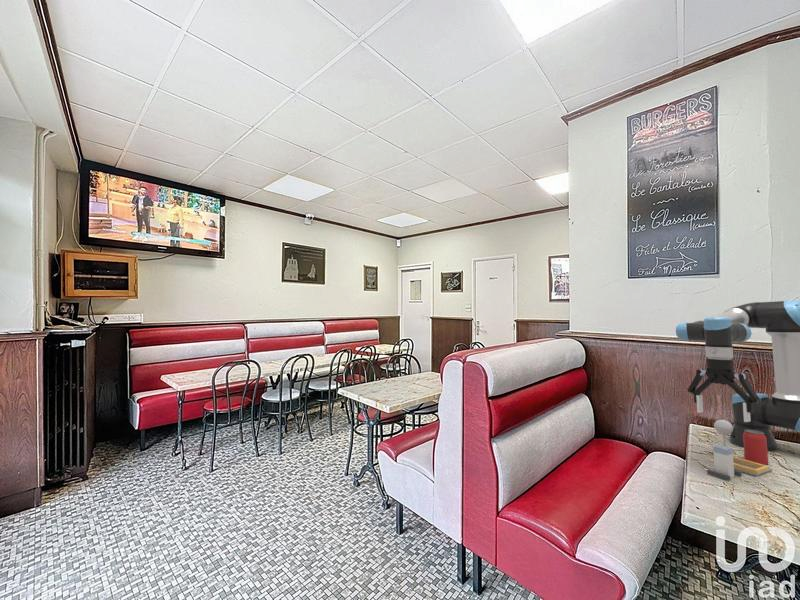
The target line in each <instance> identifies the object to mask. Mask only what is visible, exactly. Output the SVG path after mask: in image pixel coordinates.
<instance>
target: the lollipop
mask: <svg viewBox="0 0 800 600" xmlns="http://www.w3.org/2000/svg"><path fill="white" fill-rule="evenodd" d="M733 426H734V425H733V424H732V423H731V422H730V421H728V420H725V419H717V420H715V422H714V423H713V428H714V430H715V431H716V432H718V434H721V435H723V446H726V447H727V445H726V435H730V434H731V433H732V432H733Z"/></svg>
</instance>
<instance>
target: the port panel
mask: <svg viewBox="0 0 800 600" xmlns="http://www.w3.org/2000/svg"><path fill="white" fill-rule="evenodd" d="M733 462H734V470H737V471H741V472H742V474H744V475H747V476H749V477H755V478H757V477H760V476H762V475H766V474H768V473H771V472H772V469H771V468H770V465H762V464H759V463H755V462H751V461H748V460H745V458H744V459H743V458H740V457H737V456H733Z"/></svg>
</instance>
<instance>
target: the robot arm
mask: <svg viewBox="0 0 800 600" xmlns="http://www.w3.org/2000/svg"><path fill="white" fill-rule="evenodd" d="M751 328H754V329H765V332H766V334H767V335H769V336H770V337H771V345H772V346H771V347H772V358H773V367H774V368H773V369H774V378H775V392H774V393H773V394H771V397H770V398H769V395H768V394H767V393H759V392H756V391H755V390H754V388H753V386H751V383H750V382H749V381H748V379H747V378H748V377H747V374H746V373H735V366H734V365H735V363H734V362H735V361H734V360H733V359H734V351H733V350H734V349H733V343H738V344H740V343H743V342H746V341H748V340H750V338H751V336H752V330H751ZM675 334H676V337H677V338H678V340H681V341H688V342H691V341H692V342H704V343H705V345H704V346H705V347H704V348H705V357H706V359H705V366H706V370H703V369H696V371H695V376H694V378H693V380H692V381H691V382H690V384H689V387H688V388H687V392H688V393H691V394H692V395H693V403H695V404H696V412H697V413H699V414H701V413H704V400H703V399H704V396H703V395H702V394H701V393H703V392H704V391H705V390H706V389H707V388H708V387H709V386H711V385H712V384H715V385H716V384H721V385H725V386H726V385H727V386H729V387H730V388H732V389H733V391H734V392H735V393H734V394H733V395H732V397H731V405H732V417H733V418H732V419H733V425H732V426H733V432H732V433H730V434H729V441H730V443H732V444H733V445H736V446H739V447H742V448H744V444H743V433H744V430H746V429H749V430H757V431H761V432H763V433H764V435H765V437H766V439H767V452H769V451H770V452H775V451H778V450H779V447H778V443H777V441H776V439H775V436H774V434H773V433H772V431H771V426H772V427H778V428H780V429H781V428H783V429H787V430H792V431H795V432H800V300H780V301H779V300H777V301H763V302H762V301H761V302H760V301H758V302H757V301H756V302H755V301H754V302H749V303H744V304H741V305H737V306H733V307H730V308H726V309H725V310H724V311H723V312H722V313H719V314H717V315H713V316H708V317H705V318H703V319H700V320H698V321H697V320H696V321H694V322H680V323H678V324H677V325H676V327H675ZM705 375H706V376H707V378H706V379H705V380H704V381H703V383H702V384H700V385H699V383H700V382H701V380H702V379H703V377H704V376H705ZM735 379H737V380H738V381H739V383H740V384H741V386H742V387H743V388H744V390H743V388H741V387H740V386H739V385H738V383H737V382H736V381H735ZM732 389H731V390H732Z"/></svg>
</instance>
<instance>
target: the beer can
mask: <svg viewBox="0 0 800 600" xmlns="http://www.w3.org/2000/svg"><path fill="white" fill-rule="evenodd" d="M743 444H744V447H743V455H744V457H743V458H744V460H748V461H751V462H755V463H759V464H762V465H766V466H768V464H769V456H768V452H769V451H767V439H766V437H765V435H764V433H763V432H761V431H757V430H749V429H746V430H744V433H743Z"/></svg>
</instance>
